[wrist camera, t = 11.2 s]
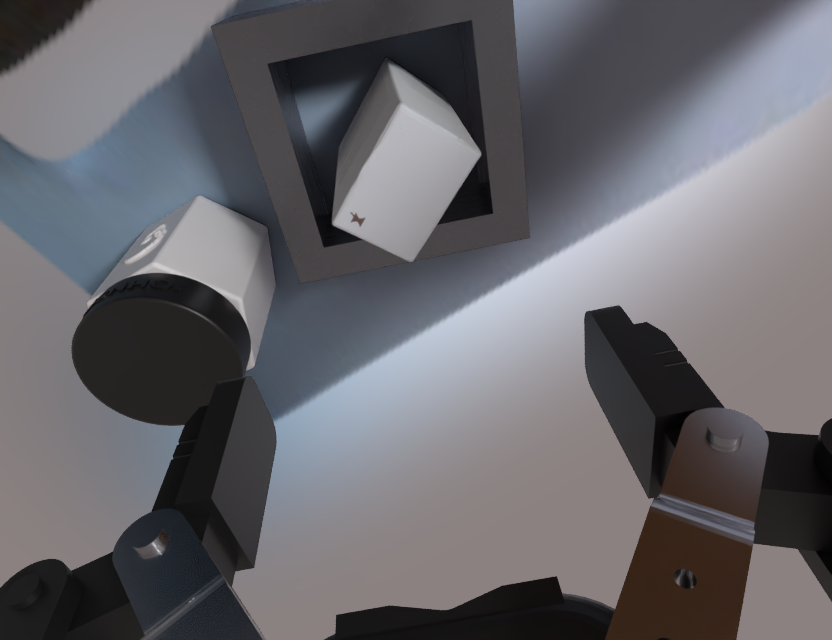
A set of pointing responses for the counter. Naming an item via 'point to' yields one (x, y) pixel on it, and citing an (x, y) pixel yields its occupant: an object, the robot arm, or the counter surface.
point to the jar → (177, 314)
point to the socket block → (288, 148)
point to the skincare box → (400, 163)
